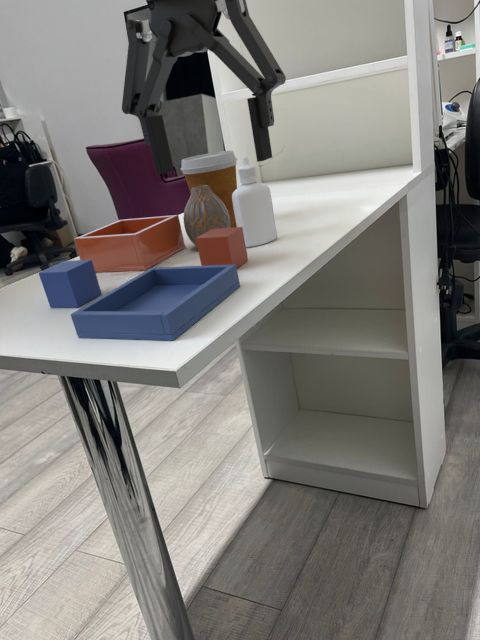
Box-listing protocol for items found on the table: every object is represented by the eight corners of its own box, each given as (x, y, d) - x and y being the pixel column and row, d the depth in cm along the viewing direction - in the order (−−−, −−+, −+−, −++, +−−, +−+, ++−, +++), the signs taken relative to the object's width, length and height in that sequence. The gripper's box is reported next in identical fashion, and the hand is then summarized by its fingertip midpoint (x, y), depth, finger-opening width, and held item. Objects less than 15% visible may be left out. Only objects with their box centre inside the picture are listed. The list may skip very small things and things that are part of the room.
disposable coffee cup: (182, 235, 93) (166, 163, 88) (217, 221, 99) (204, 153, 94) (225, 235, 87) (211, 158, 82) (259, 220, 94) (247, 148, 89)
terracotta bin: (84, 272, 80) (73, 238, 78) (128, 250, 89) (120, 219, 87) (145, 270, 75) (136, 234, 73) (185, 247, 84) (178, 214, 82)
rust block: (202, 272, 70) (195, 238, 68) (218, 261, 73) (212, 228, 71) (233, 271, 68) (227, 236, 66) (248, 260, 71) (242, 226, 69)
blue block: (50, 307, 66) (38, 272, 64) (74, 294, 70) (64, 260, 68) (78, 307, 64) (66, 271, 62) (102, 294, 68) (91, 259, 66)
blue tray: (77, 337, 55) (70, 314, 54) (156, 287, 67) (151, 267, 66) (173, 340, 50) (167, 314, 49) (240, 286, 62) (236, 264, 61)
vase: (231, 236, 86) (220, 179, 82) (236, 245, 80) (225, 184, 76) (188, 244, 85) (176, 188, 82) (190, 254, 79) (177, 194, 76)
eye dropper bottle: (239, 242, 81) (224, 159, 76) (276, 236, 81) (264, 152, 76) (240, 249, 77) (224, 162, 72) (279, 242, 77) (266, 154, 72)
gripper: (297, -77, 53) (322, 148, 62) (101, -13, 64) (146, 171, 73) (268, -94, 47) (300, 158, 56) (56, -20, 58) (111, 182, 67)
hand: (213, 166), depth 64 cm, fingers open, 13 cm apart
